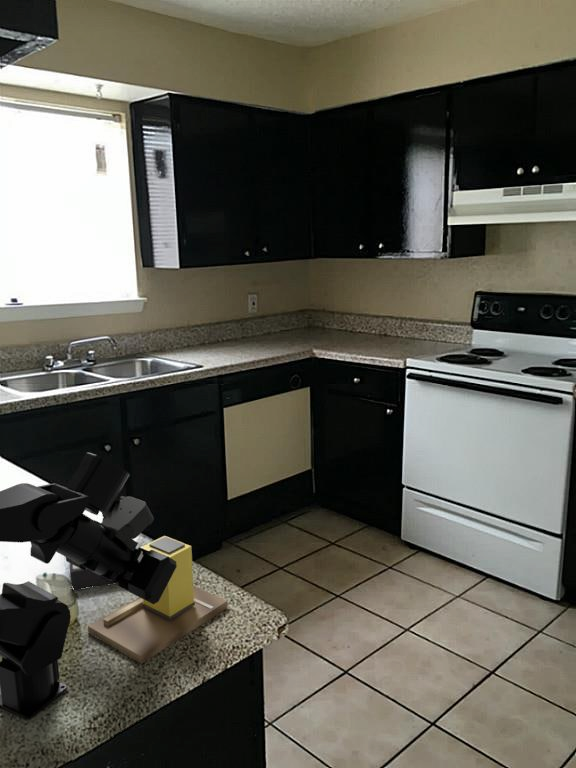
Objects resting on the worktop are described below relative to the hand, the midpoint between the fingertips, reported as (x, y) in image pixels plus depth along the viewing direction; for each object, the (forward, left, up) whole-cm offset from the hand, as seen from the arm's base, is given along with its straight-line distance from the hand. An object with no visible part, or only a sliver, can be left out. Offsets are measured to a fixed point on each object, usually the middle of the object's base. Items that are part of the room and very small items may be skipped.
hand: (153, 581), depth 99 cm
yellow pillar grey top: (+3, 0, -6) cm, 6 cm away
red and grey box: (+10, +20, -8) cm, 24 cm away
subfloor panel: (+1, 0, -7) cm, 7 cm away
